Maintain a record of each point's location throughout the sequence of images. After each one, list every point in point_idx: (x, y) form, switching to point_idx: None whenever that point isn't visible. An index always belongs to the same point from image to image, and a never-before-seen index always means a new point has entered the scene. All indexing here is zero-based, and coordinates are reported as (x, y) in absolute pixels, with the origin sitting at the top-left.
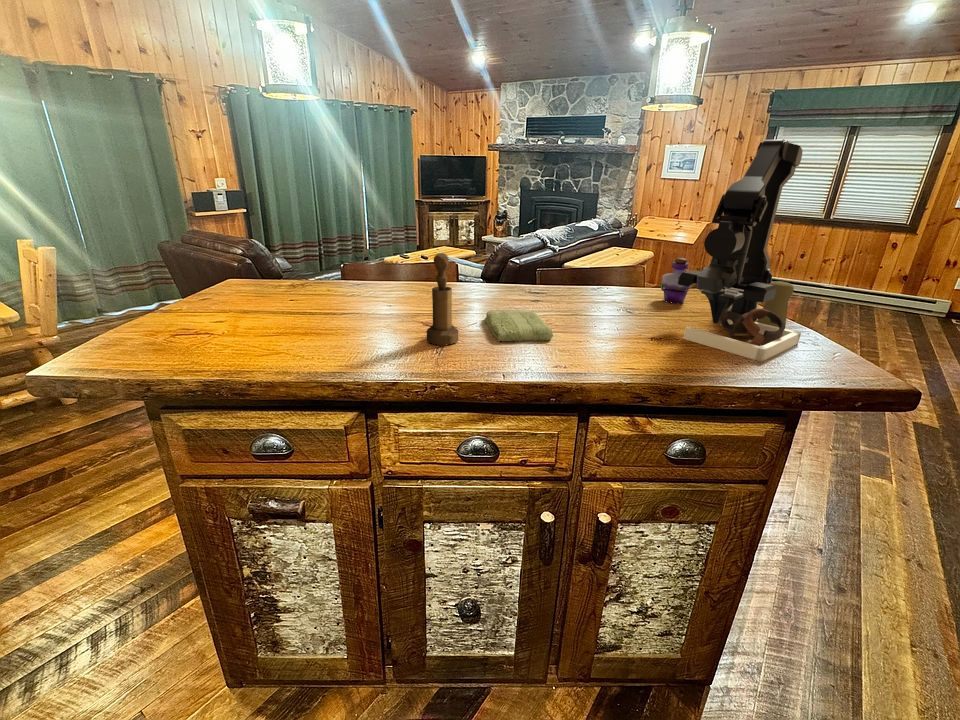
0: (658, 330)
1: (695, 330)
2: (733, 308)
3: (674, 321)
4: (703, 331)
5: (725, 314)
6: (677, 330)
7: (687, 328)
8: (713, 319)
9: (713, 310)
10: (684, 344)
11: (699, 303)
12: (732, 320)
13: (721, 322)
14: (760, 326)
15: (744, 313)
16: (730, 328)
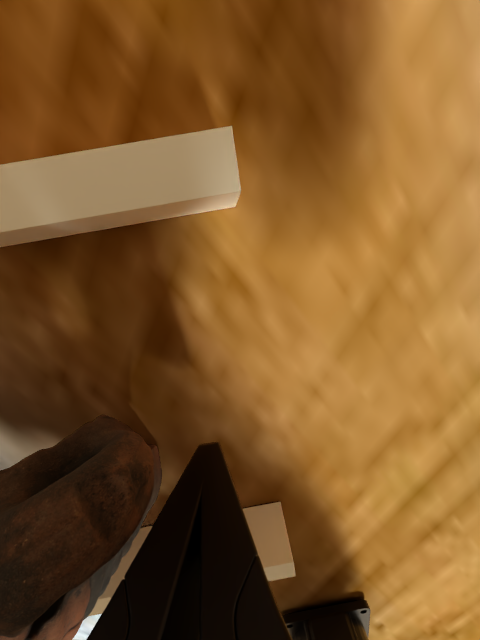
0: (427, 159)
1: (122, 146)
2: (345, 634)
3: (438, 387)
4: (74, 201)
5: (43, 543)
6: (351, 281)
7: (207, 131)
8: (216, 459)
9: (222, 541)
10: (130, 44)
11: (465, 594)
12: (2, 506)
13: (114, 446)
14: (110, 584)
15: (304, 626)
16: (89, 450)
